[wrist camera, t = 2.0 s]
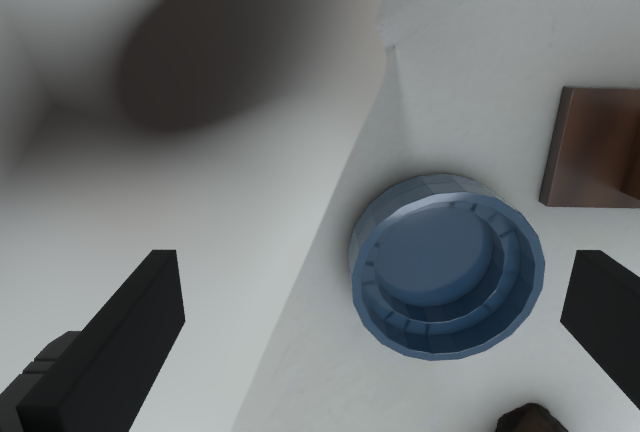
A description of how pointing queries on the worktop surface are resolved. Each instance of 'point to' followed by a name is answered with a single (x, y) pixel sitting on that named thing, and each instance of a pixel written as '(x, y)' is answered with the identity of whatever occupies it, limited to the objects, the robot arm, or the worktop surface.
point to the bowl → (443, 268)
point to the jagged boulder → (529, 420)
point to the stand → (595, 150)
